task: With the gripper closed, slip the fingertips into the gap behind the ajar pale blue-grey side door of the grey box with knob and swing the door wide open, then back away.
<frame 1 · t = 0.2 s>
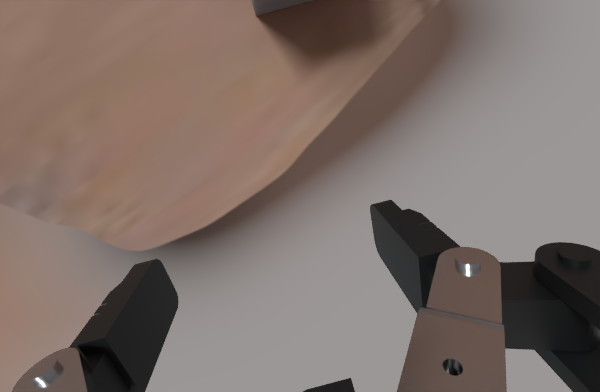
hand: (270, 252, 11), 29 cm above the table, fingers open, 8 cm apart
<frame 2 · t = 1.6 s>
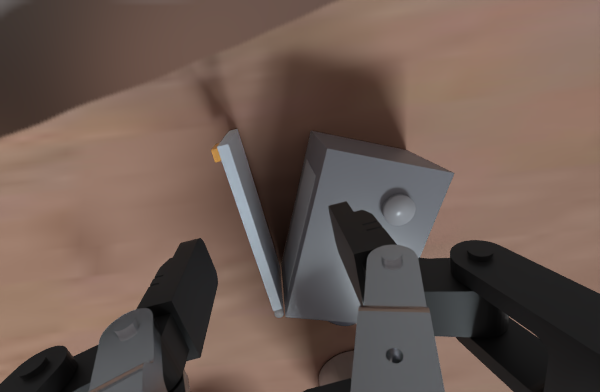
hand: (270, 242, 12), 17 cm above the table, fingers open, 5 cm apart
grey box with knob: (340, 209, 31), on the table
side door: (251, 224, 26), point 4 cm above the table, hinge at 25.0°
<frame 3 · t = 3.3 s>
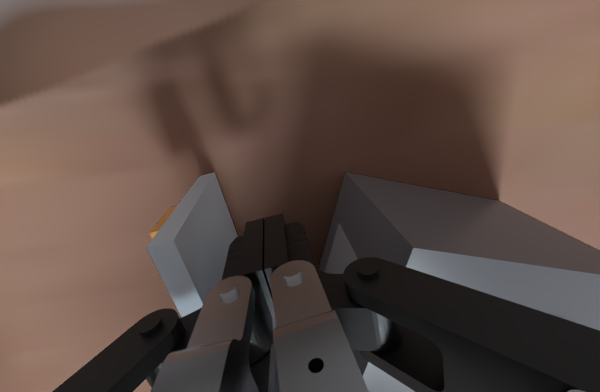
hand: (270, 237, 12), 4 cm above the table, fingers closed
grey box with knob: (386, 292, 19), on the table
side door: (239, 344, 14), point 4 cm above the table, hinge at 25.7°, touching gripper
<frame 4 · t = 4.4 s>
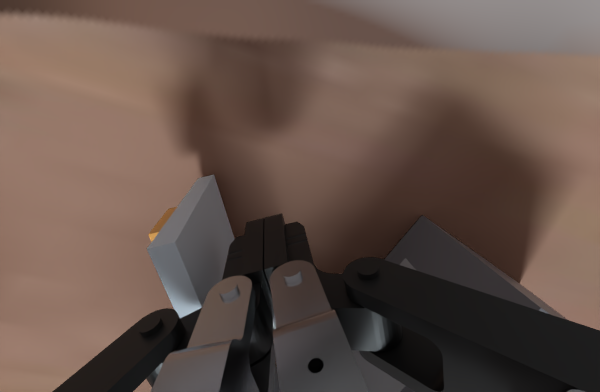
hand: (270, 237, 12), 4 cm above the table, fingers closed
grey box with knob: (400, 331, 21), on the table
side door: (233, 349, 14), point 4 cm above the table, hinge at 46.6°, touching gripper
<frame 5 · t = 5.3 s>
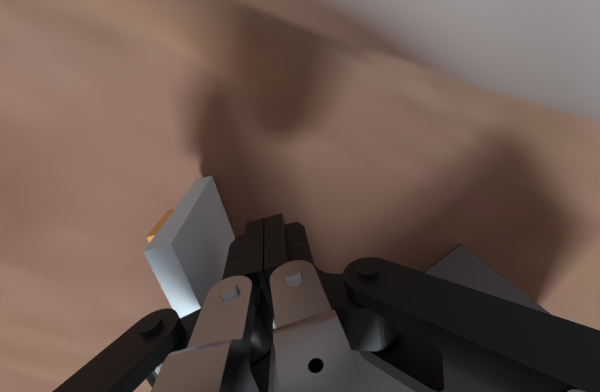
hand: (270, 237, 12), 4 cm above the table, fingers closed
grey box with knob: (410, 350, 21), on the table
side door: (238, 349, 14), point 4 cm above the table, hinge at 61.3°, touching gripper
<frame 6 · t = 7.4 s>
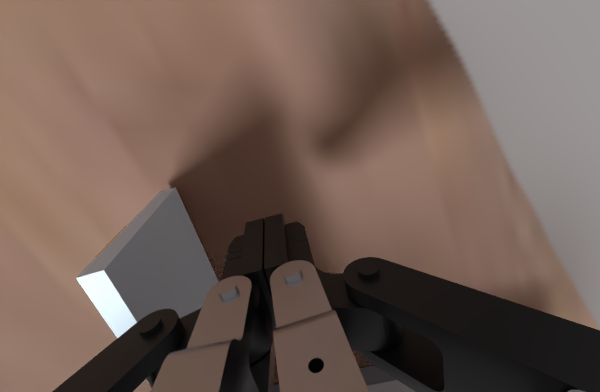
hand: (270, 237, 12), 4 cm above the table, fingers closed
side door: (204, 361, 14), point 4 cm above the table, hinge at 97.7°
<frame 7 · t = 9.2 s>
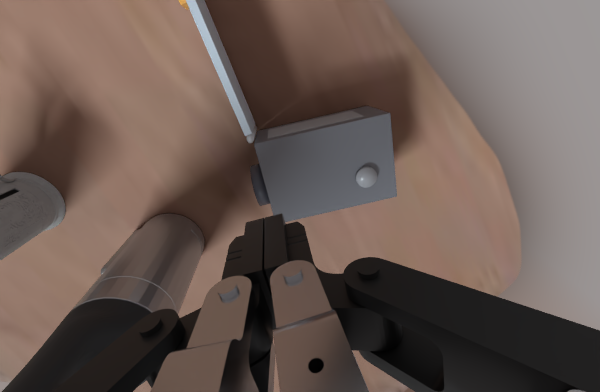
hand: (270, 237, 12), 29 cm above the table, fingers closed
grey box with knob: (319, 154, 40), on the table
side door: (220, 69, 32), point 4 cm above the table, hinge at 97.7°
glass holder: (27, 183, 39), on the table
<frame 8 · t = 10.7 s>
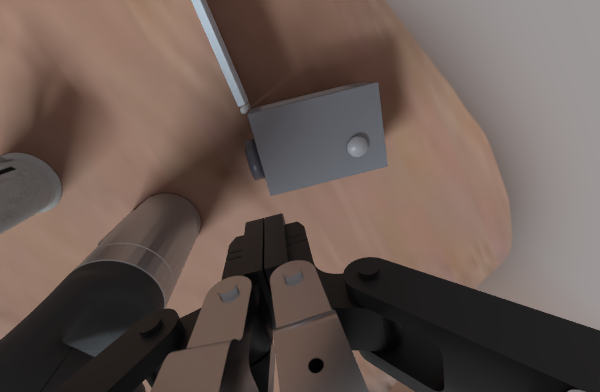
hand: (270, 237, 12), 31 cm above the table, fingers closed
grey box with knob: (311, 131, 41), on the table
side door: (213, 44, 33), point 4 cm above the table, hinge at 97.7°
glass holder: (23, 164, 39), on the table
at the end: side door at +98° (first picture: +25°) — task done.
